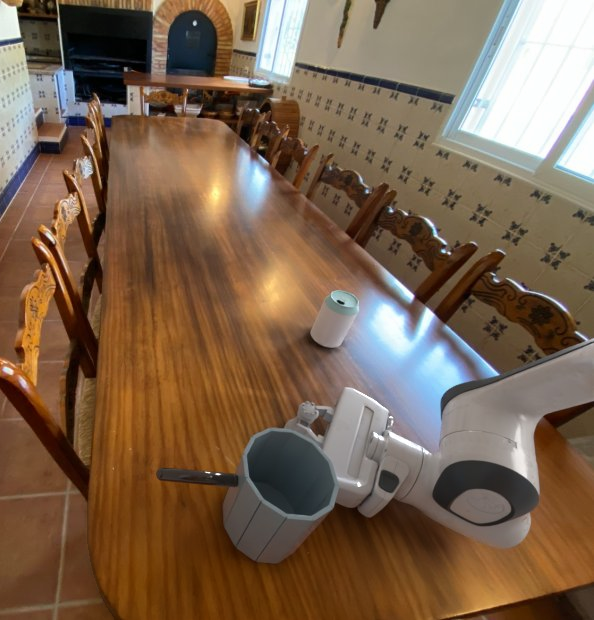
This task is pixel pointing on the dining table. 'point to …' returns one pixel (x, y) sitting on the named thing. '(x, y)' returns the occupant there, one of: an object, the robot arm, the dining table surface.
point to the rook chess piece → (304, 415)
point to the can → (335, 318)
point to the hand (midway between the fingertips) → (299, 415)
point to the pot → (271, 493)
